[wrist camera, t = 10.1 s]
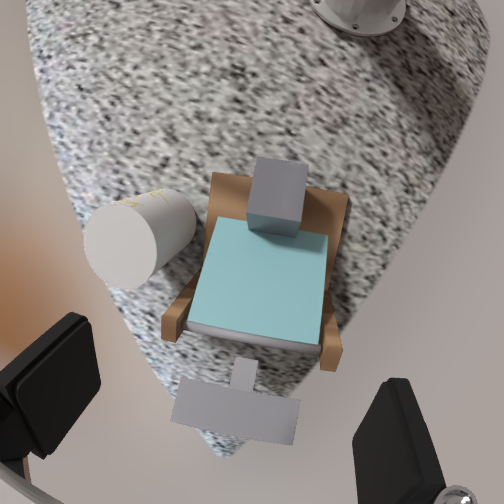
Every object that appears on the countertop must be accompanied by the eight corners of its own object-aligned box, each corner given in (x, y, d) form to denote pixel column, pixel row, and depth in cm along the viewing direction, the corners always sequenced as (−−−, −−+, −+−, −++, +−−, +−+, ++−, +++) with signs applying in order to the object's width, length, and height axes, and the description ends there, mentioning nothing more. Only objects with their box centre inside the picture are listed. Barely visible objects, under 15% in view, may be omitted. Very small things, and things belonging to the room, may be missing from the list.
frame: (212, 172, 36) (169, 180, 23) (348, 194, 34) (380, 215, 21) (199, 296, 40) (161, 354, 28) (320, 318, 39) (329, 386, 26)
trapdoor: (217, 231, 36) (214, 210, 33) (324, 250, 35) (332, 230, 32) (166, 417, 25) (155, 416, 22) (299, 444, 24) (308, 447, 21)
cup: (179, 177, 36) (132, 187, 25) (207, 238, 38) (171, 273, 27) (128, 205, 38) (71, 225, 27) (154, 261, 40) (107, 298, 28)
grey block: (248, 229, 33) (258, 179, 34) (295, 238, 33) (302, 187, 34) (245, 212, 28) (257, 156, 30) (300, 221, 28) (308, 164, 29)
